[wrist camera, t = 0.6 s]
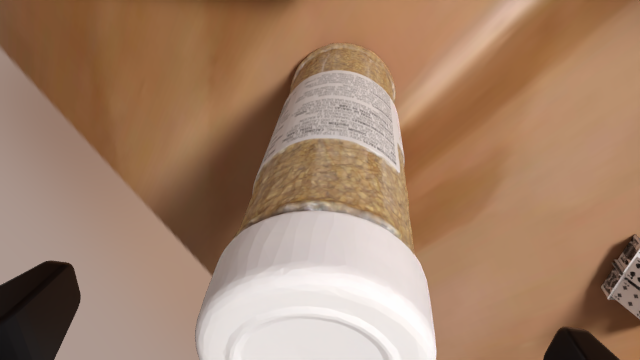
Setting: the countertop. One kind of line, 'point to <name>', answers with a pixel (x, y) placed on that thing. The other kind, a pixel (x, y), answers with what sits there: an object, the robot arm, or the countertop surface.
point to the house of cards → (626, 278)
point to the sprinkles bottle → (325, 231)
